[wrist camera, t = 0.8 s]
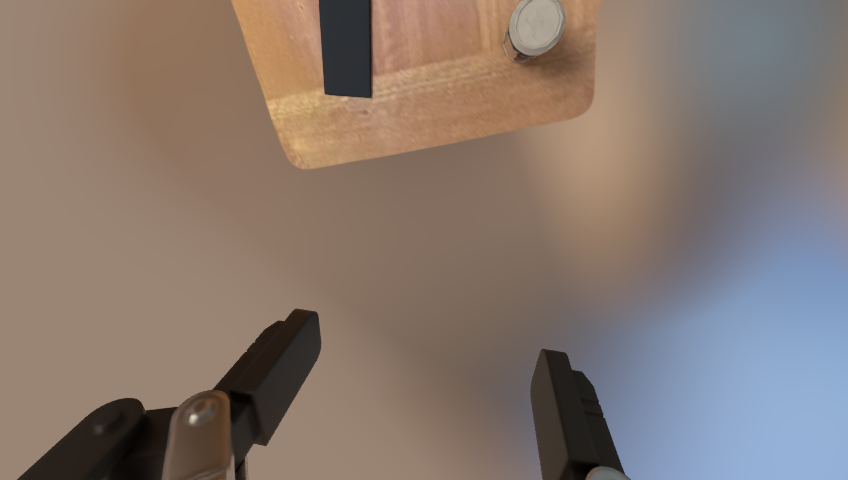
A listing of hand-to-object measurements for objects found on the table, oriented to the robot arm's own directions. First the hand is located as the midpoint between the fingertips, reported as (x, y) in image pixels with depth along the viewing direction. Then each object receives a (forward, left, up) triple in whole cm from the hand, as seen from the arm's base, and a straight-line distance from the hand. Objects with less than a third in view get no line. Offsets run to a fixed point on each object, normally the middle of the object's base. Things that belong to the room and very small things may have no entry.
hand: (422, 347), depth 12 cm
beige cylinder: (-14, +5, -38) cm, 41 cm away
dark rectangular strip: (-14, -17, -38) cm, 44 cm away
